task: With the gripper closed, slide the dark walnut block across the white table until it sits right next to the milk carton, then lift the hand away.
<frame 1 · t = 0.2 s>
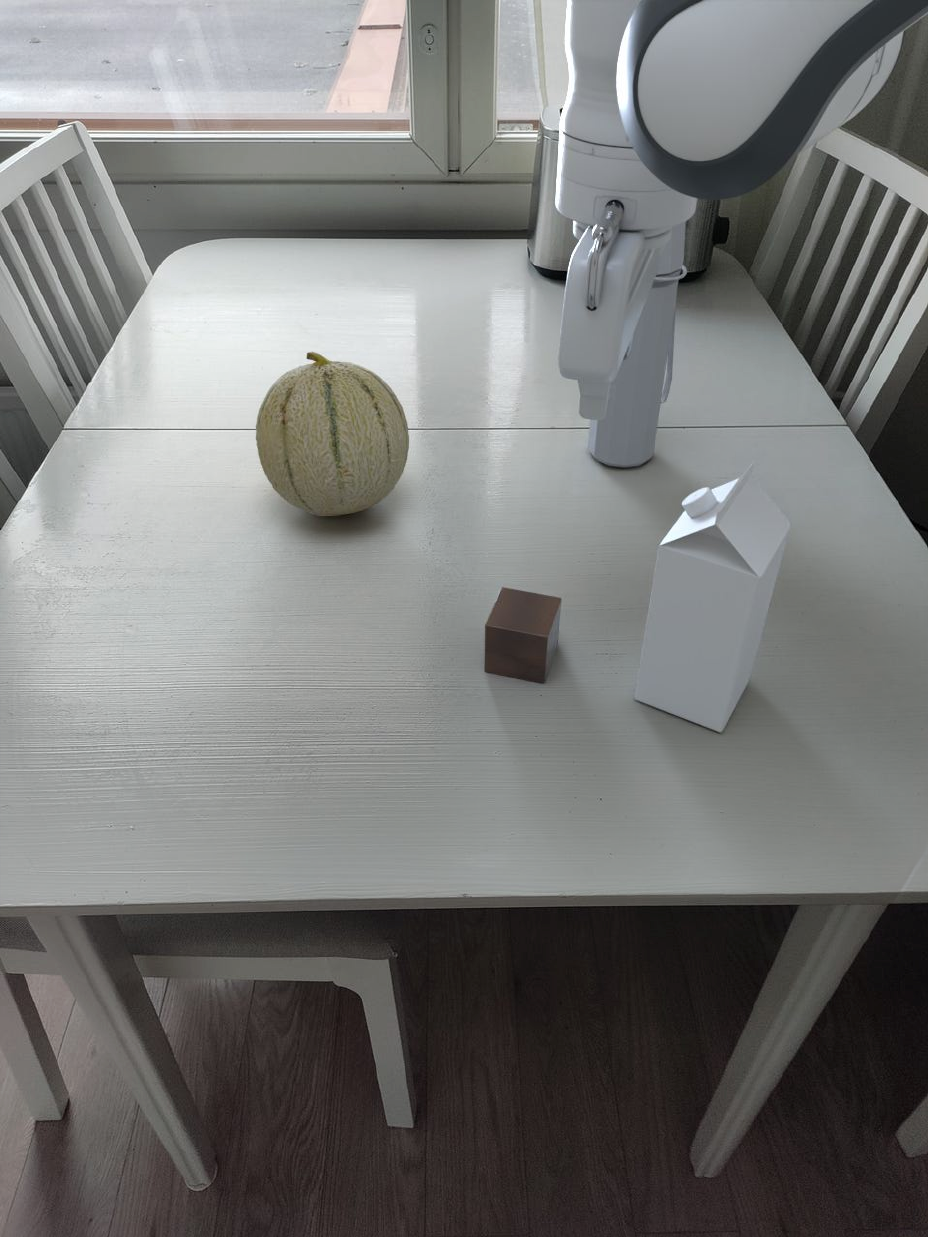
hand: (605, 383, 69), 22 cm above the table, tool pointing down, fingers open, 8 cm apart
cantaloupe: (340, 504, 96), on the table
water bottle: (626, 453, 104), on the table
walnut block: (521, 657, 79), on the table
milk carton: (692, 691, 76), on the table
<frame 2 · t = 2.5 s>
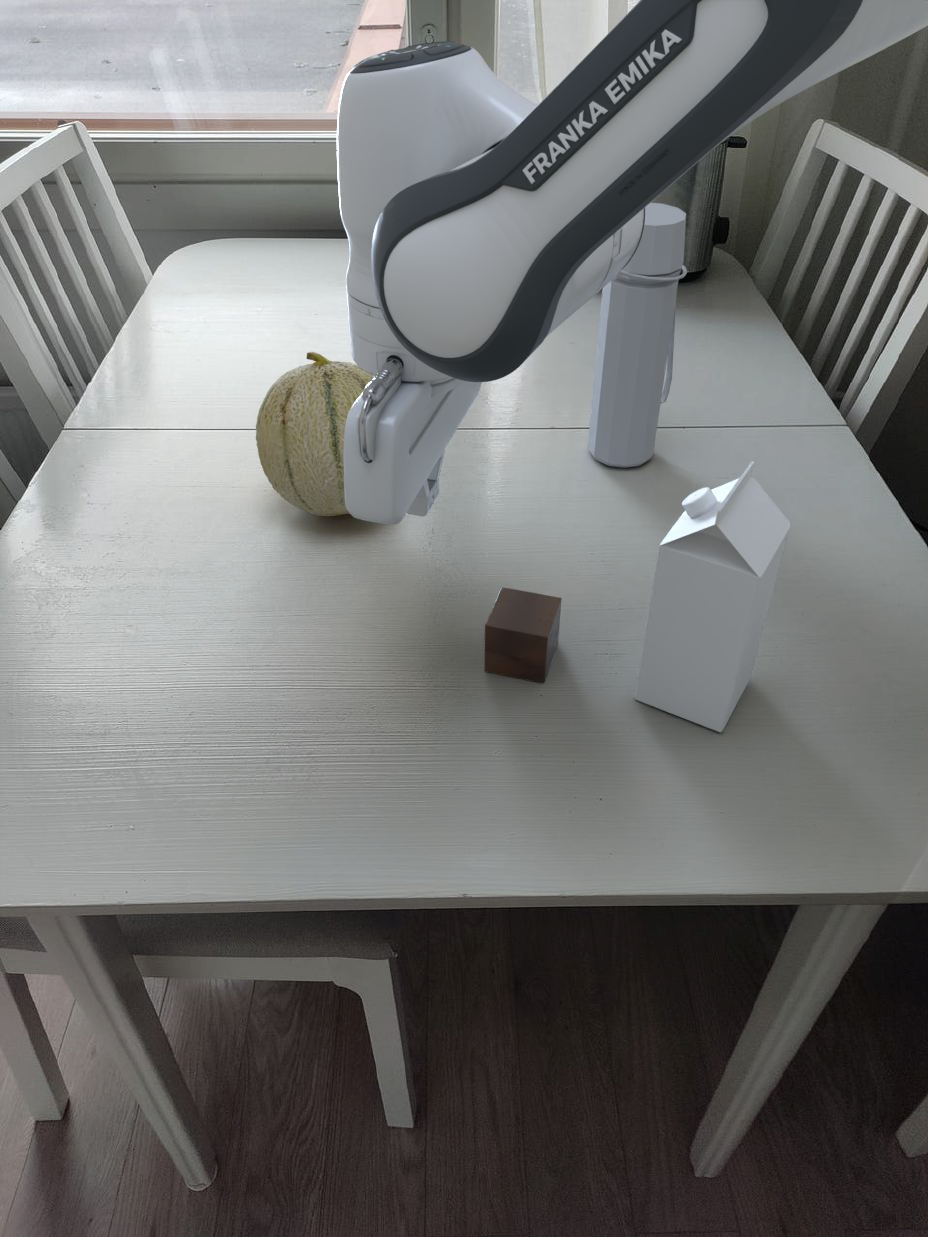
hand: (422, 505, 72), 13 cm above the table, tool pointing down, fingers closed
nothing on the table moved.
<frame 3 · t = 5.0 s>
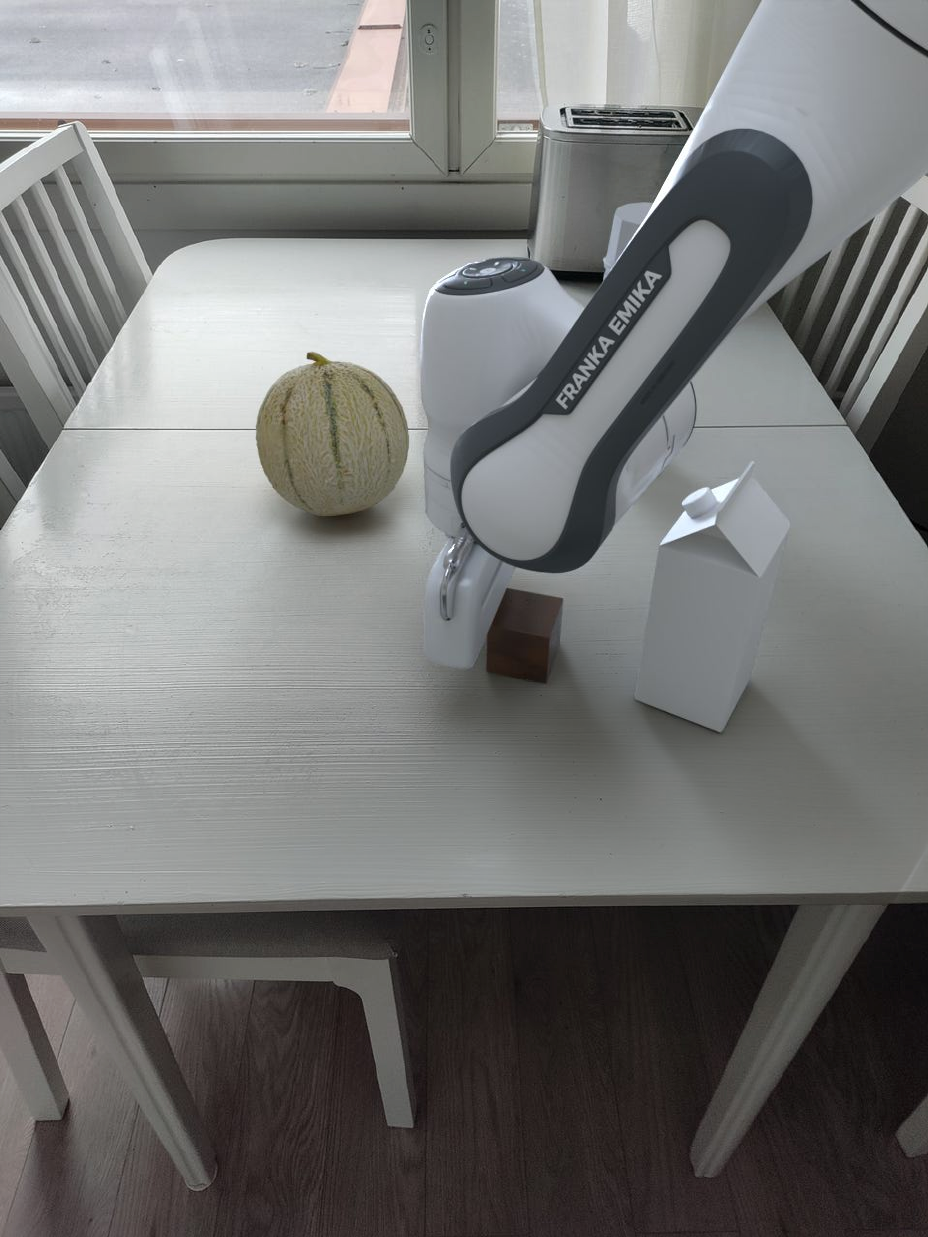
hand: (484, 632, 78), 2 cm above the table, tool pointing down, fingers closed, pressing on walnut block
walnut block: (523, 657, 79), on the table, touching gripper
everything else where it was.
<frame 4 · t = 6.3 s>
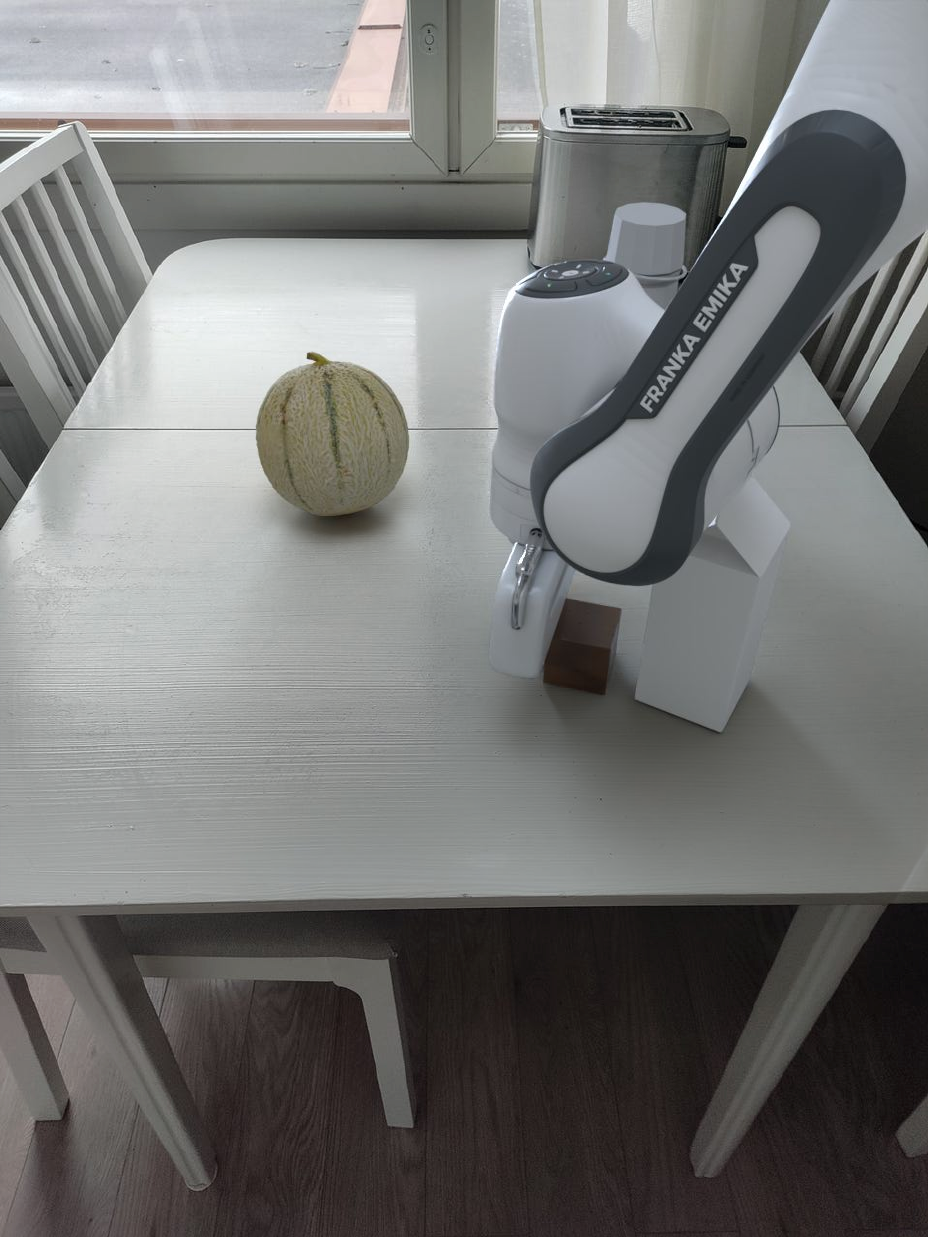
hand: (540, 639, 77), 2 cm above the table, tool pointing down, fingers closed, pressing on walnut block
walnut block: (579, 668, 78), on the table, touching gripper
everything else where it was.
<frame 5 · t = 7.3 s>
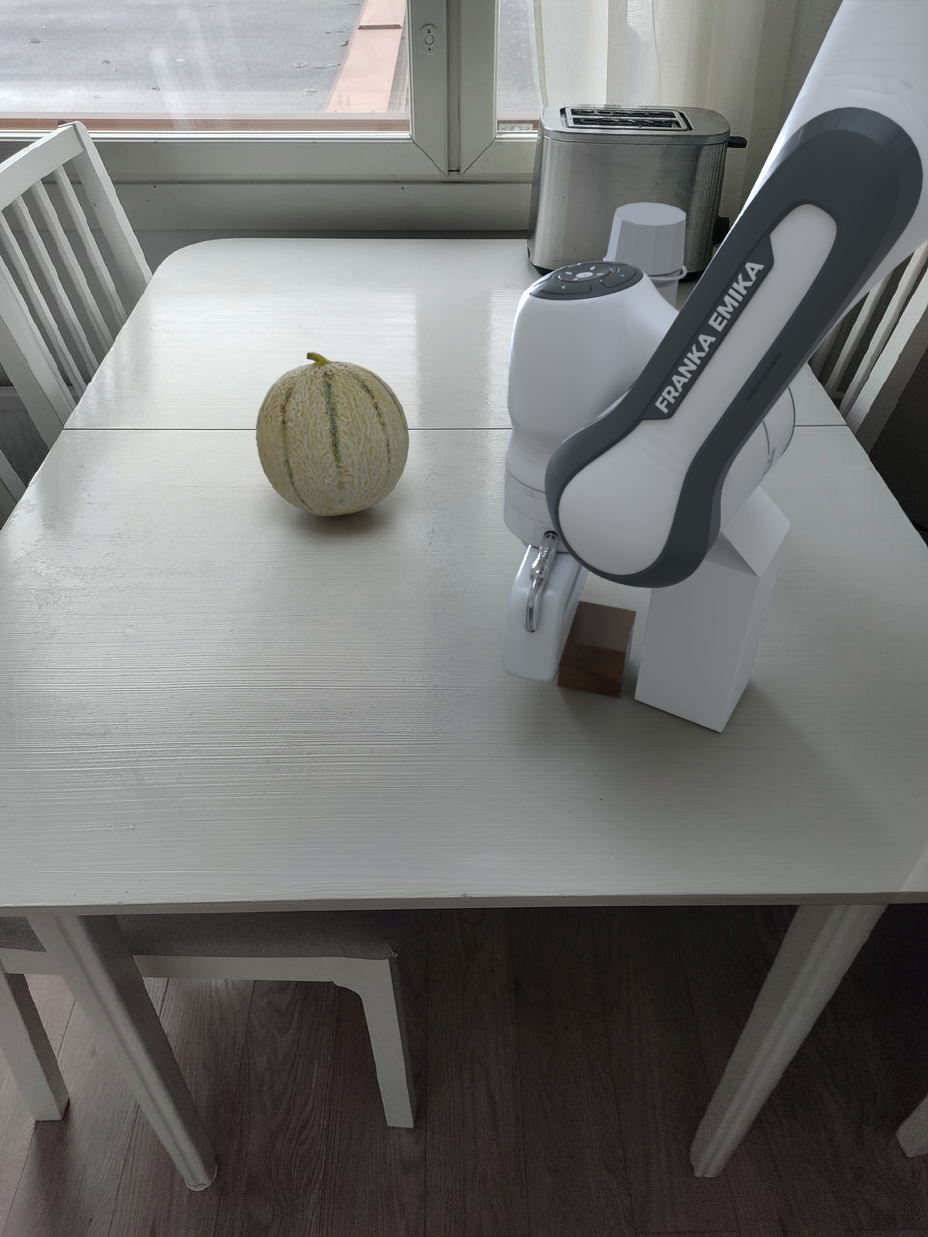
hand: (553, 642, 77), 2 cm above the table, tool pointing down, fingers closed
walnut block: (593, 671, 77), on the table
everything else where it was.
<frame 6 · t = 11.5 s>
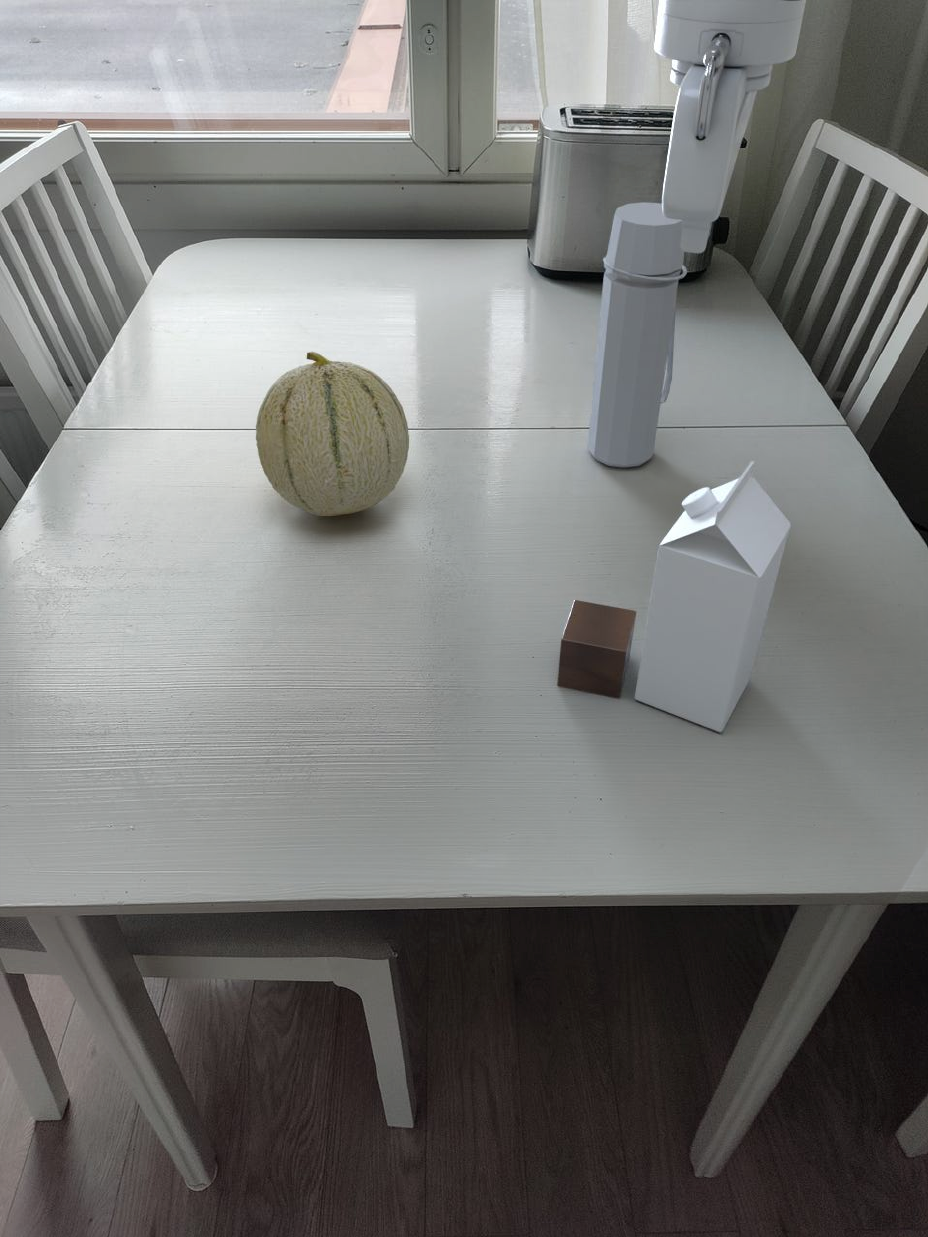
hand: (694, 245, 69), 29 cm above the table, tool pointing down, fingers closed
nothing on the table moved.
at the end: walnut block 7.9 cm from the milk carton (horizontally); walnut block moved 6.0 cm from its start; milk carton moved 0.2 cm from its start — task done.
